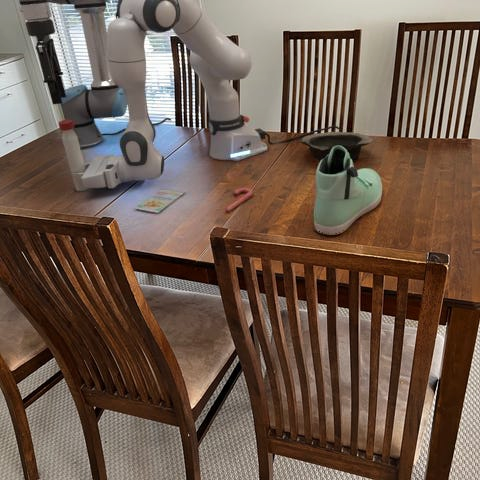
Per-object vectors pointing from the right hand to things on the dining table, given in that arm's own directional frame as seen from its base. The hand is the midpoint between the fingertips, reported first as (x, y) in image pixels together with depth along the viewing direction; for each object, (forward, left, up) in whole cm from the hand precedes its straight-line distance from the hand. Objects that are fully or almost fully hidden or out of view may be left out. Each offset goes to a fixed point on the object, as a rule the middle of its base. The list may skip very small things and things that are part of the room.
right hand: (75, 171), depth 162 cm
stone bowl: (-86, +28, -6) cm, 90 cm away
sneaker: (-67, +61, -6) cm, 91 cm away
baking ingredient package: (-21, +26, -6) cm, 33 cm away
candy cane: (-41, +40, -6) cm, 57 cm away
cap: (-1, 0, +17) cm, 17 cm away
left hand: (-1, 0, +24) cm, 24 cm away
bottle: (-1, 0, -6) cm, 6 cm away
